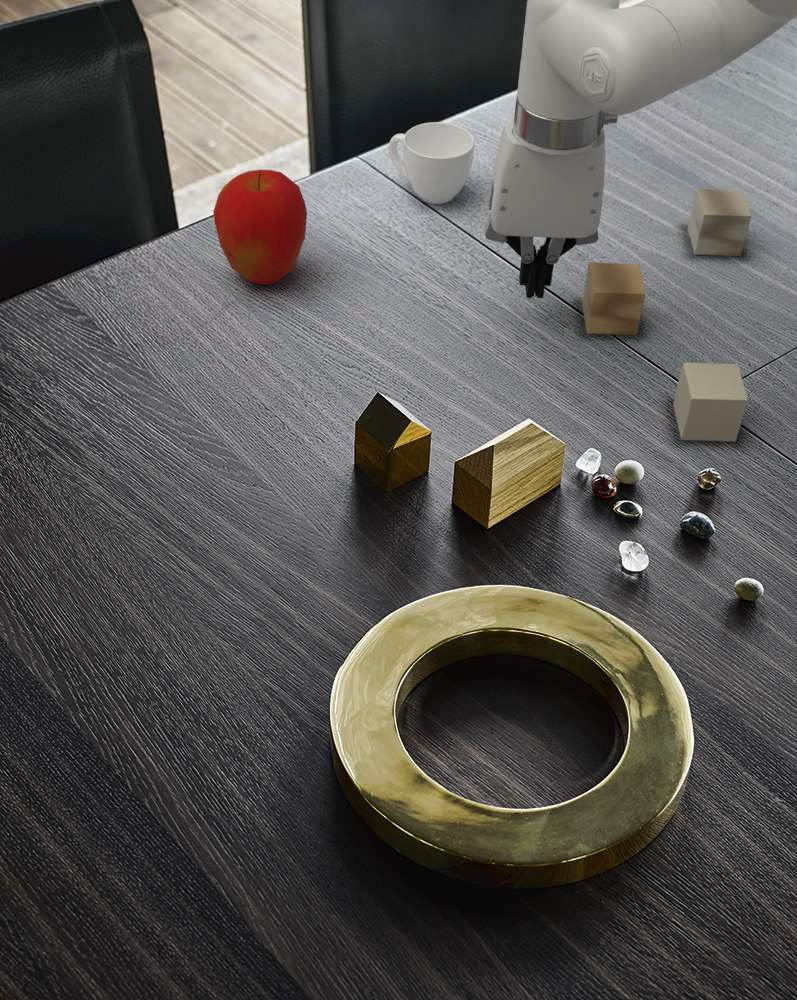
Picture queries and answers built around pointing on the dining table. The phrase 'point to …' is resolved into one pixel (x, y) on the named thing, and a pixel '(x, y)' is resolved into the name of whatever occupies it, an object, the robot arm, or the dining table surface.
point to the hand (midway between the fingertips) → (533, 289)
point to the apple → (261, 224)
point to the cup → (434, 159)
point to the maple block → (613, 298)
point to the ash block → (719, 222)
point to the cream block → (710, 402)
